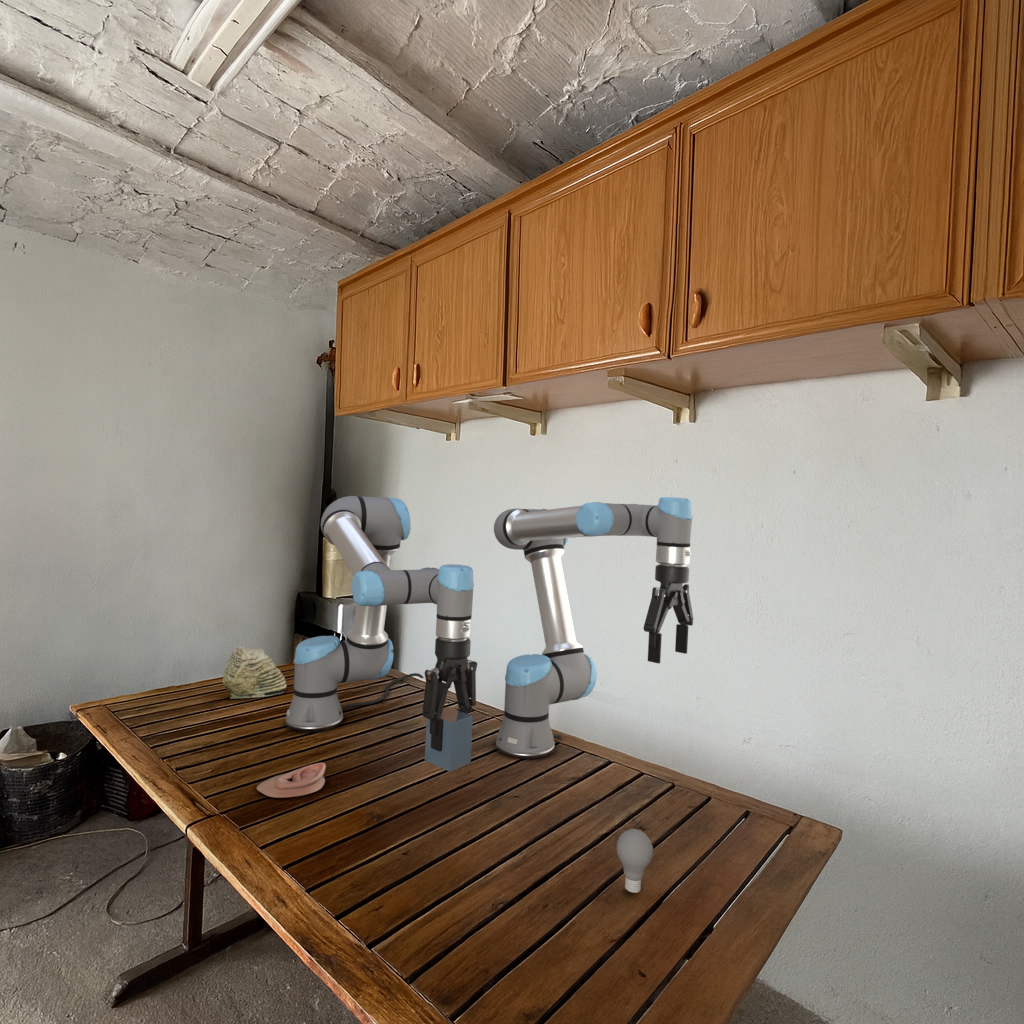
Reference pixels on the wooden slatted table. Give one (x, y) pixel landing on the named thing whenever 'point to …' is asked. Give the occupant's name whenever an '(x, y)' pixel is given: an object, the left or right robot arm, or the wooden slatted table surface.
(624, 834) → the light bulb
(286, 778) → the anatomical model
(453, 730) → the brick
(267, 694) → the fossil
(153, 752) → the wooden slatted table surface
